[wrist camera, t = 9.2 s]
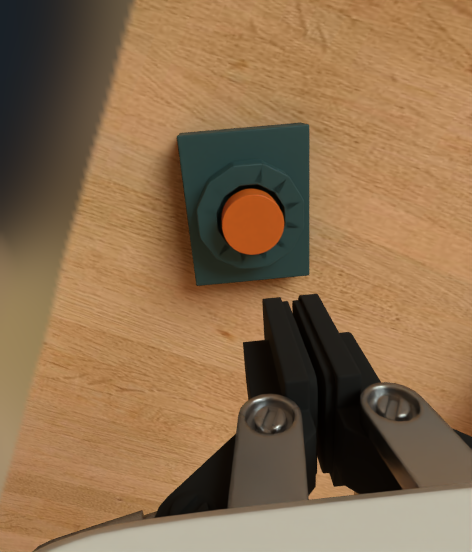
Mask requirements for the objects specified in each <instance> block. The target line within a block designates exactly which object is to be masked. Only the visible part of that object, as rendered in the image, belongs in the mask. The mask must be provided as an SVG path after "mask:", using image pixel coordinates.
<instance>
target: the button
mask: <svg viewBox="0 0 472 552" xmlns="http://www.w3.org/2000/svg"><path fill="white" fill-rule="evenodd" d="M222 230H223V234H224V237H225V239H226V241H227V242H228V244H229V245H230V246H231V247H232V248H233V249H235V250H236V251H238V252H241V253H243V254H249V255H256V254H261V253H264V252H266V251H268V250H270V249H271V248H272V247H274V246H275V245H276V244H277V242H278V241H279V240H280V238H281V236H282V233H283V230H284V218H283V214H282V211H281V210H280V208H279V206H278V205H277V203H276V202H275V200H274V199H273V198H272V197H271V196H270V195H269V194H268V193H266V192H264V191H262V190H259V189H244V190H241V191H239V192H237V193H235V194H234V195H232V196H231V197H230V198H229V199H228V200H227V202H226V203H225V205H224V208H223V211H222Z"/></svg>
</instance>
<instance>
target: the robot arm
mask: <svg viewBox="0 0 472 552" xmlns="http://www.w3.org/2000/svg"><path fill="white" fill-rule="evenodd" d="M292 309H293V314H292V311H291V308H290V306H289V303H288V301H284V302H282V300H281V298H280V297H278V298H268V299H263V321H264V338H265V340H261V341H251V342H243V349H244V361H245V373H246V383H247V392H248V401H247V402H245V404H244V405H243V406H242V407H241V409H240V412H239V415H238V423H237V431H236V434H235V435H234V436H233V437H232V438H231V439H230V440H229V441H228V442H226V443H225V444H224V445H223V446H222V447H221V448H220V449H219V450H218V451H217V452H216V453H215V454H214V455H212V456H211V457H210V458H209V459H208V460H207V461H206V462H205V463H204V464H203V465H202V466H201V467H199V468H198V469H197V470H196V471H195V472H194V473H193V474H192V475H191V476H190V477H189V478H188V479H187V480H185V481H184V482H183V483H182V484H181V485H180V486H179V487H178V488H177V489H176V490H175V491H174V492H173V493H171V494H170V495H169V496H168V497H167V498H166V499H165V501H164V502H163V503H162V504H161V505H160V507H159V508H158V511H156V512H153V513H150V514H147V515H144V514H143V511H142V510H141V511H138V512H135V513H132V514H129V515H126V516H123V517H120V518H117V519H114V520H111V521H107V522H104V523H101V524H98V525H95V526H92V527H89V528H86V529H83V530H80V531H77V532H74V533H71V534H68V535H65V536H62V537H59V538H56V539H53V540H50V541H48V542H46V543H44V544H42V545H40V546H38V547H37V548H36V549H35V550H34V551H33V552H472V437H471V436H469V435H466V434H464V433H462V432H459V431H457V430H455V429H452V428H451V427H450V426H449V425H448V424H447V423H446V422H445V421H444V420H443V419H442V418H441V417H440V416H439V415H438V414H437V412H436V411H435V410H434V409H433V408H432V407H431V406H430V405H429V404H428V403H427V402H426V401H425V400H424V399H423V398H422V397H421V396H420V395H419V394H418V393H416V392H415V391H414V390H412V389H410V388H408V387H406V386H403V385H399V384H396V383H387V382H384V383H381V381H380V380H379V378H378V376H377V375H376V373H375V372H374V370H373V368H372V367H371V365H370V363H369V362H368V360H367V358H366V357H365V355H364V353H363V352H362V350H361V348H360V347H359V345H358V343H357V342H356V340H355V339H354V337H353V335H352V334H351V333H350V332H344V333H339V332H338V330H337V328H336V326H335V325H334V323H333V321H332V319H331V317H330V316H329V314H328V312H327V310H326V308H325V307H324V305H323V303H322V301H321V299H320V298H319V296H318V294H310V295H299V298H298V300H295V301H293V303H292ZM317 457H318V460H319V464H320V467H321V470H322V472H323V473H330V476H331V479H332V482H333V485H334V487H335V486H347V487H348V488H350V489H352V490H353V491H354V495H349V496H340V497H330V498H321V499H312V500H309V499H308V496H309V494H310V493H311V492H312V490H313V489H314V488H315V487H316V474H317Z"/></svg>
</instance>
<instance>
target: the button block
mask: <svg viewBox="0 0 472 552" xmlns="http://www.w3.org/2000/svg"><path fill="white" fill-rule="evenodd" d="M177 142H178V150H179V157H180V165H181V172H182V180H183V187H184V195H185V203H186V210H187V218H188V225H189V233H190V240H191V248H192V256H193V263H194V271H195V278H196V285H197V286H201V285H211V284H222V283H233V282H243V281H254V280H264V279H275V278H286V277H296V276H307V275H309V125H308V124H304V123H292V124H280V125H269V126H257V127H246V128H234V129H222V130H211V131H199V132H188V133H180V134H179V135H178V136H177ZM244 189H259V190H262V191H264V192H266V193H268V194H269V195H270V196H271V197H272V198H273V199H274V200H275V202H276V203H277V205H278V206H279V208H280V210H281V211H282V214H283V218H284V230H283V233H282V236H281V238H280V240H279V241H278V242H277V244H276V245H275V246H274V247H272V248H271V249H270V250H268V251H266V252H264V253H261V254H256V255H249V254H243V253H241V252H238V251H236V250H235V249H233V248H232V247H231V246H230V245H229V244H228V242H227V241H226V239H225V237H224V234H223V230H222V211H223V208H224V205H225V203H226V202H227V200H228V199H229V198H230V197H231V196H232V195H234V194H235V193H237V192H239V191H241V190H244Z"/></svg>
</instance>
